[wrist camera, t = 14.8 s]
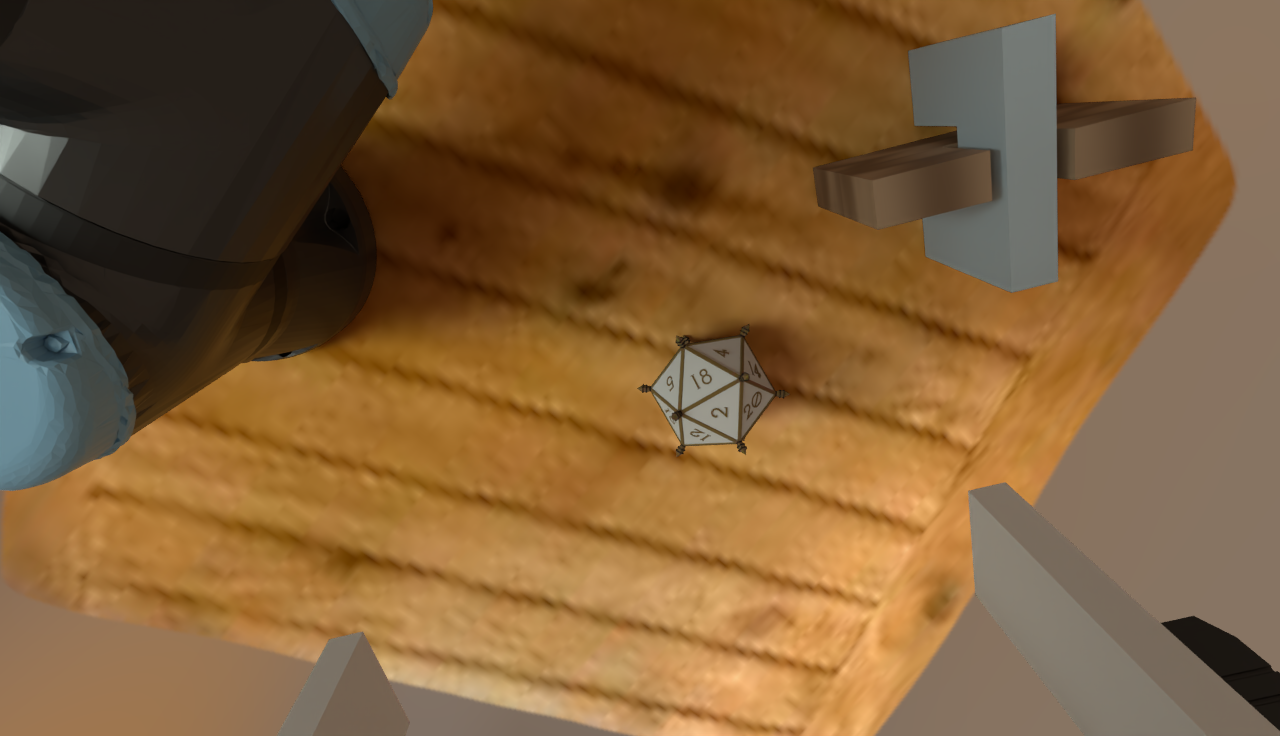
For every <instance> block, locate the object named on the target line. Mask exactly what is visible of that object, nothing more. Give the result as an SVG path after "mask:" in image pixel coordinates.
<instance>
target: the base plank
mask: <svg viewBox="0 0 1280 736" xmlns="http://www.w3.org/2000/svg"><path fill="white" fill-rule="evenodd" d="M1195 108H1196V98H1177V99H1155V100H1132V101H1110V102H1087V103H1065V104H1058V105H1056V115H1057V178H1063V179H1071V180H1077V179H1081V178H1085V177H1089V176H1093V175H1097V174H1101V173H1104V172H1108V171H1112V170H1116V169H1120V168H1124V167H1128V166H1132V165H1136V164H1140V163H1144V162H1148V161H1152V160H1156V159H1160V158H1164V157H1168V156H1172V155H1176V154H1180V153H1184V152H1188V151H1192V150H1193V138H1194V123H1195ZM813 172H814V179H815V186H816V193H817V200H818V206H819V207H821V208H824V209H827V210H829V211H832V212H834V213H837V214H839V215H842V216H844V217H847V218H849V219H852V220H854V221H857V222H859V223H862V224H864V225H867V226H870V227H872V228H875V229H877V230H879V229H883V228H887V227H891V226H895V225H899V224H903V223H906V222H910V221H914V220H918V219H922V218H926V217H930V216H934V215H938V214H942V213H946V212H950V211H954V210H958V209H962V208H966V207H970V206H974V205H978V204H982V203H986V202H990V201H992V183H991V161H990V150H976V149H962V148H958V138H957V131H953V132H949V133H946V134H942V135H938V136H934V137H930V138H926V139H922V140H918V141H915V142H911V143H907V144H903V145H899V146H895V147H891V148H887V149H884V150H880V151H876V152H872V153H868V154H864V155H860V156H857V157H853V158H849V159H845V160H841V161H837V162H833V163H829V164H826V165H822V166H818V167H814V168H813Z"/></svg>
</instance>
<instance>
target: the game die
mask: <svg viewBox="0 0 1280 736" xmlns="http://www.w3.org/2000/svg"><path fill="white" fill-rule="evenodd" d="M740 331H741V333H740V335H738V336H732V337H726V338H719V339H713V340H707V341H701V342H695V343H690V340H689V338H688V337H685V336H683V338H682V337H679V336H677V335H676V343H677V344H678V346H680V349H679V350H678V351H677V353H676V354H675V355H674V357H673V358H672V359H671V361H670V362H669V363H668V365H667V366H666V367H665V369H664V370H663V371H662V373H661V374H660V375H659V376H658V378H657V379H656V380H655V382H654V383H653V384H652V386H647V385H644V384H643V385H642V386H641V387H639V388H637V389H639V390H640V391H642V393H643V392H646V393H647V392H648V391H651V393H652V394H653V396H654V398H655V399H656V401H657V403H658V405H659V406H660V408H661V410H662V412H663V413H664V415H665V417H666V419H667V420H668V422H669V424H670V426H671V427H672V429H673V431H674V432H675V434H676V436H677V438H678V439H679V441H680V443H681V445H680V446H678V449H676V451H677V456H679V455H681V454H684V453H683V452H684V451H685V446H700V445H723V444H737V448H738V449H739V450H738V451H739V452H742V453H744V454H745V455H746V449H747V447H746V446H745V443H743V442H742V441H744V439H745V437H746V435H747V434H748V432H749V431H750V430H751V428H752V427H753V426H754V424H755V423H756V422H757V420H758V419H759V418H760V416H761V415H762V414H763V412H764V411H765V410H766V408H767V407H768V405H769V404H770V403H771V401H772V400H773V399H774V397H775V396H777V397H779V398H780V397H782V398H784V397H786V396H788V395H789V393H787V392H786V391H784V390H783V391H781V390H779V391H775V390H774V388H773V386H772V384H771V383H770V381H769V379H768V378H767V376H766V374H765V372H764V371H763V369H762V367H761V366H760V364H759V362H758V360H757V359H756V357H755V355H754V354H753V352H752V350H751V348H750V347H749V345H748V343H747V342H746V340H745V338H744V337H745V336H746V335H747V333H748V331H749V324H748V325H746V326H744V327H742V330H740Z"/></svg>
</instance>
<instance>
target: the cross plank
mask: <svg viewBox="0 0 1280 736" xmlns="http://www.w3.org/2000/svg"><path fill="white" fill-rule="evenodd" d="M908 55H909V67H910V78H911V90H912V102H913V114H914V125H915V126H957V138H958V148H962V149H976V150H990V161H991V183H992V201H990V202H986V203H982V204H978V205H974V206H970V207H966V208H962V209H958V210H954V211H950V212H946V213H942V214H938V215H934V216H930V217H926V218H922V219H923V231H924V243H925V255H926V257H928V258H930V259H932V260H935V261H937V262H940V263H942V264H944V265H947V266H949V267H951V268H954V269H956V270H959V271H961V272H963V273H966V274H968V275H971V276H973V277H975V278H978V279H980V280H982V281H985V282H987V283H990V284H992V285H994V286H997V287H999V288H1001V289H1004V290H1006V291H1009V292H1011V293H1012V292H1016V291H1020V290H1024V289H1029V288H1033V287H1037V286H1041V285H1045V284H1049V283H1053V282H1057V281H1058V225H1057V115H1056V14H1053V15H1049V16H1045V17H1041V18H1037V19H1033V20H1029V21H1025V22H1021V23H1017V24H1012V25H1008V26H1004V27H1000V28H996V29H992V30H988V31H984V32H980V33H976V34H972V35H968V36H964V37H960V38H956V39H952V40H948V41H944V42H940V43H936V44H933V45H929V46H925V47H921V48H917V49H914V50H910V51H908Z"/></svg>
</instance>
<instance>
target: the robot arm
mask: <svg viewBox="0 0 1280 736" xmlns="http://www.w3.org/2000/svg"><path fill="white" fill-rule="evenodd" d="M432 12H433V2H432V0H0V490H9V491H14V490H21V489H26V488H31V487H35V486H38V485H42V484H45V483H47V482H50V481H52V480H55V479H57V478H59V477H61V476H64V475H65V474H67V473H69V472H71V471H73V470H75V469H77V468H79V467H81V466H83V465H84V464H86V463H88V462H90V461H93V460H96V459H101V458H102V457H104V456H107V455H110V454H112V453H114V452H115V451H116V450H117V449H118V448H119V447H120V446H121V445H123V444H124V443H125V442H127V441H128V440H129V438H130V436H132V435H133V434H135V433H136V432H138V431H139V430H141V429H143V428H144V427H146V426H147V425H149V424H150V423H152V422H153V421H155V420H156V419H158V418H159V417H161V416H162V415H164V414H165V413H167V412H168V411H170V410H171V409H173V408H174V407H176V406H177V405H179V404H180V403H182V402H183V401H185V400H186V399H188V398H189V397H191V396H192V395H194V394H195V393H197V392H198V391H200V390H201V389H203V388H204V387H206V386H207V385H209V384H211V383H212V382H214V381H215V380H217V379H218V378H220V377H221V376H223V375H224V374H226V373H227V372H229V371H230V370H232V369H233V368H235V367H236V366H238V365H239V364H240V363H247V362H250V361H271V360H280V359H285V358H290V357H294V356H297V355H300V354H303V353H305V352H308V351H310V350H312V349H314V348H316V347H318V346H320V345H322V344H323V343H325V342H326V341H328V340H329V339H330V338H332V337H333V336H334V335H336V334H337V333H338V332H340V331H341V330H342V329H344V328H345V327H346V326H347V325H348V324H349V323H350V322H351V321H352V320H353V319H354V318H355V316H356V315H357V314H358V313H359V311H360V310H361V308H362V307H363V305H364V303H365V301H366V299H367V297H368V295H369V293H370V290H371V287H372V284H373V280H374V276H375V270H376V241H375V235H374V230H373V226H372V222H371V219H370V216H369V213H368V210H367V208H366V205H365V203H364V201H363V199H362V197H361V195H360V193H359V192H358V190H357V188H356V187H355V185H354V184H353V182H352V180H351V179H350V178H349V176H348V175H347V174H346V172H345V171H344V170H343V169H342V168H341V167H340V166H341V164H342V162H343V161H344V159H345V158H346V156H347V155H348V153H349V152H350V150H351V149H352V147H353V146H354V144H355V143H356V141H357V140H358V138H359V137H360V135H361V133H362V132H363V130H364V129H365V127H366V126H367V124H368V123H369V121H370V120H371V118H372V117H373V115H374V114H375V112H376V111H377V109H378V108H379V106H380V104H381V103H382V101H383V100H384V98H385V97H387V98H388V99H392V98H393V97H394V96H395V94H396V92H397V89H398V81H397V80H398V78H399V76H400V74H401V73H402V71H403V69H404V68H405V66H406V64H407V63H408V61H409V59H410V58H411V56H412V54H413V52H414V51H415V49H416V47H417V46H418V44H419V42H420V41H421V39H422V37H423V36H424V34H425V32H426V30H427V28H428V26H429V24H430V20H431V17H432ZM968 495H969V509H970V524H971V538H972V553H973V567H974V582H975V595H976V596H977V598H978V599H979V600H980V601H981V603H982V604H983V605H984V607H985V608H986V609H987V610H988V612H989V613H990V614H991V616H992V617H993V618H994V619H995V621H996V622H997V623H998V625H999V626H1000V627H1001V628H1002V630H1003V631H1004V632H1005V634H1006V635H1007V636H1008V638H1009V639H1010V640H1011V641H1012V643H1013V644H1014V645H1015V647H1016V648H1017V649H1018V650H1019V652H1020V653H1021V654H1022V656H1023V657H1024V658H1025V659H1026V661H1027V662H1028V663H1029V665H1030V666H1031V667H1032V669H1033V670H1034V671H1035V672H1036V674H1037V675H1038V676H1039V678H1040V679H1041V680H1042V681H1043V683H1044V684H1045V685H1046V687H1047V688H1048V689H1049V690H1050V692H1051V693H1052V694H1053V696H1054V697H1055V698H1056V699H1057V701H1058V702H1059V703H1060V705H1061V706H1062V707H1063V708H1064V710H1065V711H1066V712H1067V714H1068V715H1069V716H1070V717H1071V719H1072V720H1073V721H1074V723H1075V724H1076V725H1077V727H1078V728H1079V729H1080V730H1081V732H1082V733H1083V734H1084V735H1085V736H1280V673H1279V672H1278V671H1277V672H1275V671H1273V670H1272V668H1271V665H1269V664H1268V663H1267V662H1266V661H1265V660H1263V659H1262V658H1261V657H1260V656H1258V655H1257V654H1256V653H1255V652H1254V651H1252V650H1251V649H1250V648H1249V647H1247V646H1246V645H1245V644H1244V643H1243V642H1241V641H1240V640H1239V639H1238V638H1236V637H1235V636H1233V635H1231V634H1229V633H1227V632H1225V631H1223V630H1221V629H1219V628H1217V627H1215V626H1213V625H1211V624H1208V623H1207V622H1205V621H1203V620H1201V619H1199V618H1197V617H1195V616H1191V617H1186V618H1182V619H1178V620H1173V621H1169V622H1164V623H1160V622H1159V621H1158V620H1157V619H1155V618H1154V617H1153V616H1152V615H1151V614H1150V613H1149V612H1148V611H1147V610H1145V609H1144V608H1143V607H1142V606H1141V605H1140V604H1139V603H1138V602H1136V601H1135V600H1134V599H1133V598H1132V597H1131V596H1130V595H1129V594H1128V593H1127V592H1126V591H1124V590H1123V589H1122V588H1121V587H1120V586H1119V585H1118V584H1117V583H1116V582H1115V581H1113V580H1112V579H1111V578H1110V577H1109V576H1108V575H1107V574H1106V573H1105V572H1104V571H1102V570H1101V569H1100V568H1099V567H1098V566H1097V565H1096V564H1095V563H1094V562H1093V561H1091V560H1090V559H1089V558H1088V557H1087V556H1086V555H1085V554H1084V553H1083V552H1082V551H1080V550H1079V549H1078V548H1077V547H1076V546H1075V545H1074V544H1073V543H1072V542H1070V541H1069V540H1068V539H1067V538H1066V537H1065V536H1064V535H1063V534H1061V532H1059V531H1058V530H1057V529H1056V528H1055V527H1054V526H1053V525H1052V524H1051V523H1049V522H1048V521H1047V520H1046V519H1045V518H1044V517H1043V516H1042V515H1041V514H1039V513H1038V512H1037V511H1036V510H1035V509H1034V508H1033V507H1032V506H1031V505H1030V504H1029V503H1027V502H1026V501H1025V500H1024V499H1023V498H1022V497H1021V496H1020V495H1019V494H1018V493H1016V492H1015V491H1014V490H1013V489H1012V488H1011V487H1010V486H1009V485H1008V484H1006V483H1000V484H996V485H992V486H987V487H983V488H979V489H974V490H970V491H968ZM409 723H410V722H409V720H408V718H407V716H406V714H405V712H404V710H403V708H402V706H401V704H400V702H399V700H398V698H397V696H396V695H395V693H394V691H393V689H392V687H391V685H390V683H389V681H388V679H387V677H386V675H385V673H384V671H383V669H382V667H381V666H380V664H379V662H378V660H377V658H376V656H375V654H374V652H373V650H372V648H371V646H370V644H369V642H368V641H367V639H366V637H365V635H364V633H363V632H359V633H355V634H351V635H346V636H342V637H338V638H333V639H329V641H328V643H327V644H326V646H325V648H324V650H323V652H322V654H321V655H320V657H319V659H318V661H317V663H316V665H315V666H314V668H313V670H312V672H311V674H310V676H309V678H308V679H307V681H306V683H305V685H304V687H303V689H302V691H301V692H300V694H299V696H298V698H297V700H296V701H295V703H294V705H293V707H292V709H291V711H290V713H289V714H288V716H287V718H286V720H285V722H284V724H283V725H282V727H281V729H280V731H279V733H278V735H277V736H405V735H406V732H407V729H408V726H409Z"/></svg>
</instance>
